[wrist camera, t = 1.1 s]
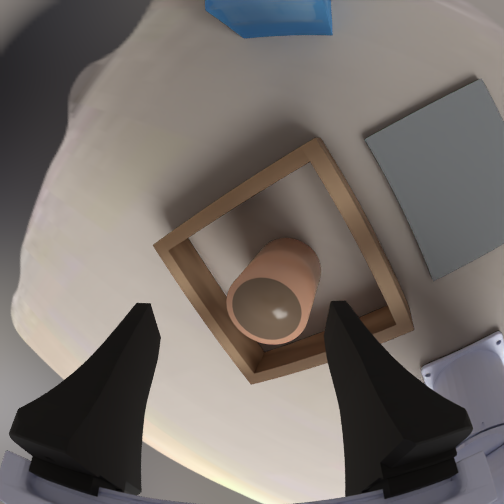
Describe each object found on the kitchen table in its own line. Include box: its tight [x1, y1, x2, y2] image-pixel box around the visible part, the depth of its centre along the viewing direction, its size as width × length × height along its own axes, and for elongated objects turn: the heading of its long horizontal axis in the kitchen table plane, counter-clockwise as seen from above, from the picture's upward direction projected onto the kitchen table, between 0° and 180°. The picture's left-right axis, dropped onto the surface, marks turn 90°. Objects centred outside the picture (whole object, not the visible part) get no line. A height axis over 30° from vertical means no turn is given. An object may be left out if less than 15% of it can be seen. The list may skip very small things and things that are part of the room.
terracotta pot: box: [226, 238, 321, 344], centre depth 21 cm, size 5×5×6 cm
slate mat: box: [364, 78, 504, 281], centre depth 17 cm, size 11×10×1 cm
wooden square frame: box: [153, 138, 414, 384], centre depth 22 cm, size 14×14×3 cm
